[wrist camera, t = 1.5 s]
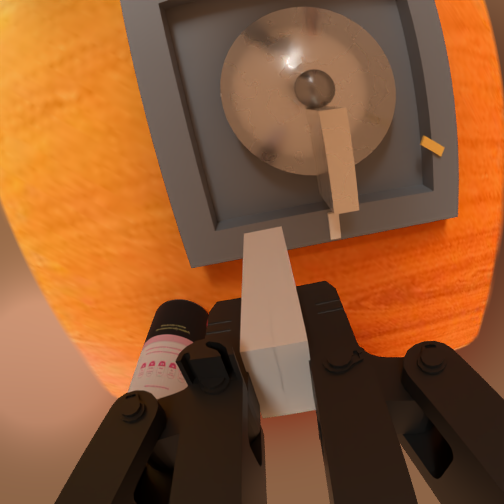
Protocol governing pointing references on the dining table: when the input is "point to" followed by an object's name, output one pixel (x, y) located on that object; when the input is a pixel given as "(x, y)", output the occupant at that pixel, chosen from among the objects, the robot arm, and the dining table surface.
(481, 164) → the dining table surface
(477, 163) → the dining table surface
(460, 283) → the dining table surface
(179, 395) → the robot arm
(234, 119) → the dial
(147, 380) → the beverage can
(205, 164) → the panel
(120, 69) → the dining table surface
